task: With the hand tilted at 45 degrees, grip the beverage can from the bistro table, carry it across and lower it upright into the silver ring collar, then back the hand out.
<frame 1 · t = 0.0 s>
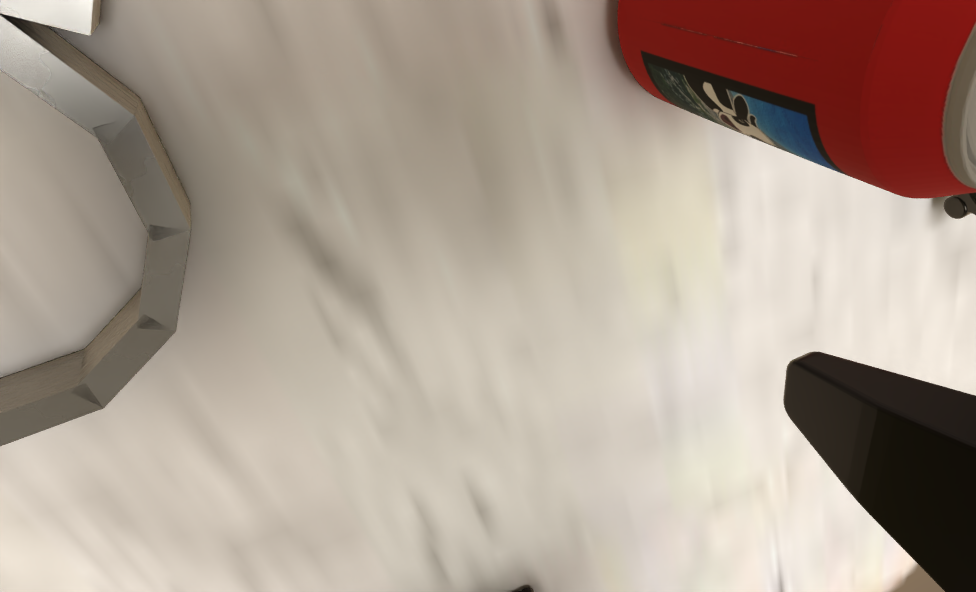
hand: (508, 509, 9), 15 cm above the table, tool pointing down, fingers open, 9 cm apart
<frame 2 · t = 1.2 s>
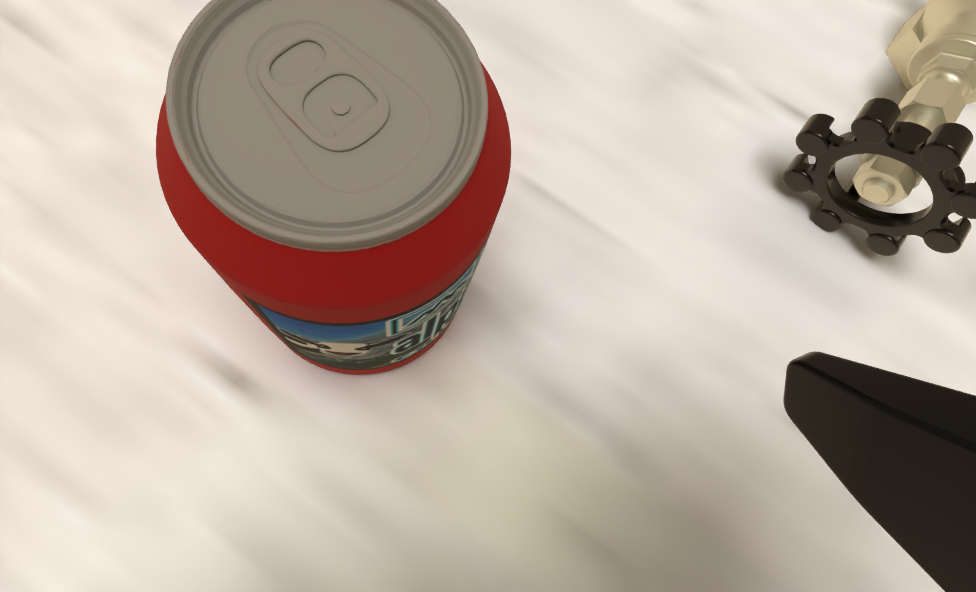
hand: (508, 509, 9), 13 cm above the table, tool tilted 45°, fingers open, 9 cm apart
beverage can: (364, 282, 23), on the table
valve: (880, 125, 28), on the table
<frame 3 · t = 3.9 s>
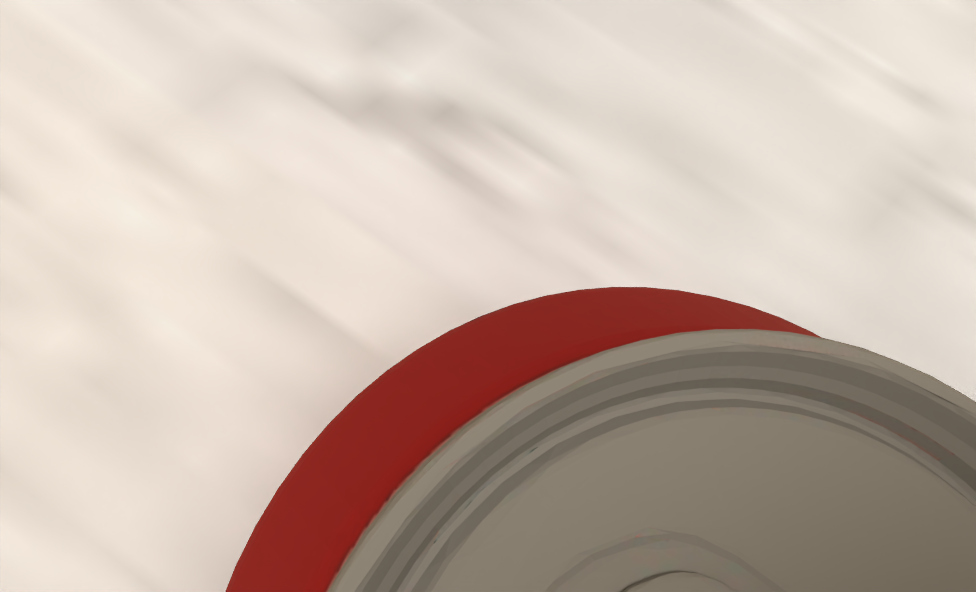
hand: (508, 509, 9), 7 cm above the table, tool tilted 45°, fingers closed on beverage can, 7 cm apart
beverage can: (482, 547, 15), on the table, touching gripper
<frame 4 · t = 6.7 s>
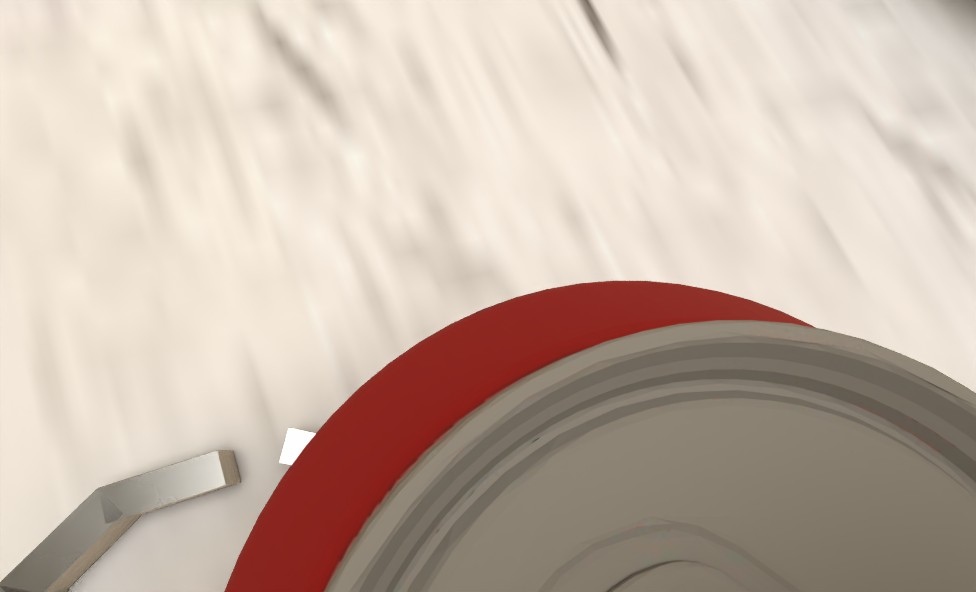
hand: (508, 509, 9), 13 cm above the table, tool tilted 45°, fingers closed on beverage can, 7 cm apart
beverage can: (482, 544, 15), point 6 cm above the table, touching gripper
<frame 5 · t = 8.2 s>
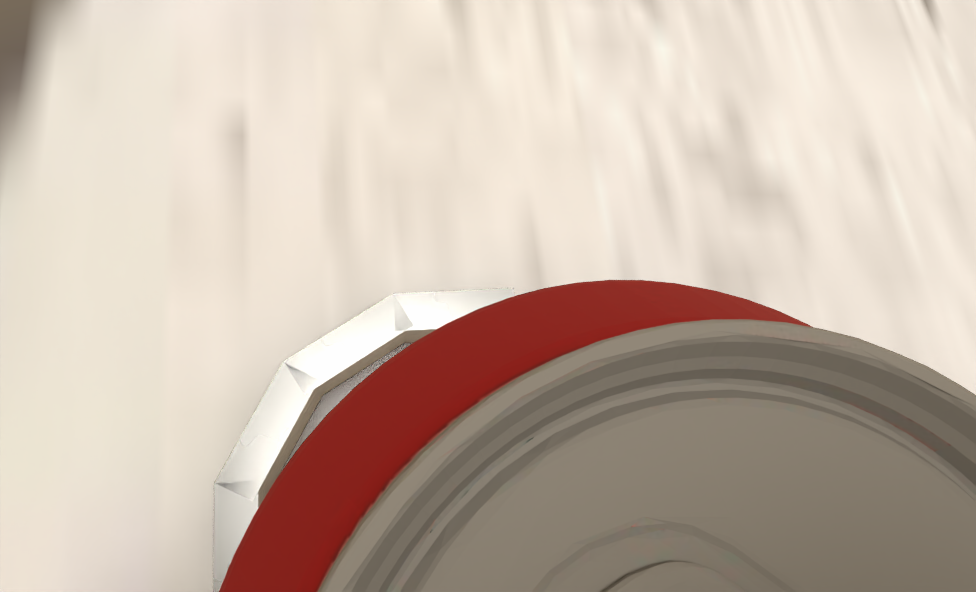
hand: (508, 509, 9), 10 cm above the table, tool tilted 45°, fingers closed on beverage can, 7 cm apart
beverage can: (481, 544, 15), point 3 cm above the table, touching gripper
ring collar: (462, 520, 18), on the table
when the fingers open (8 cm above the table, at t = 9.6 s): beverage can drops 1 cm, resting in ring collar.
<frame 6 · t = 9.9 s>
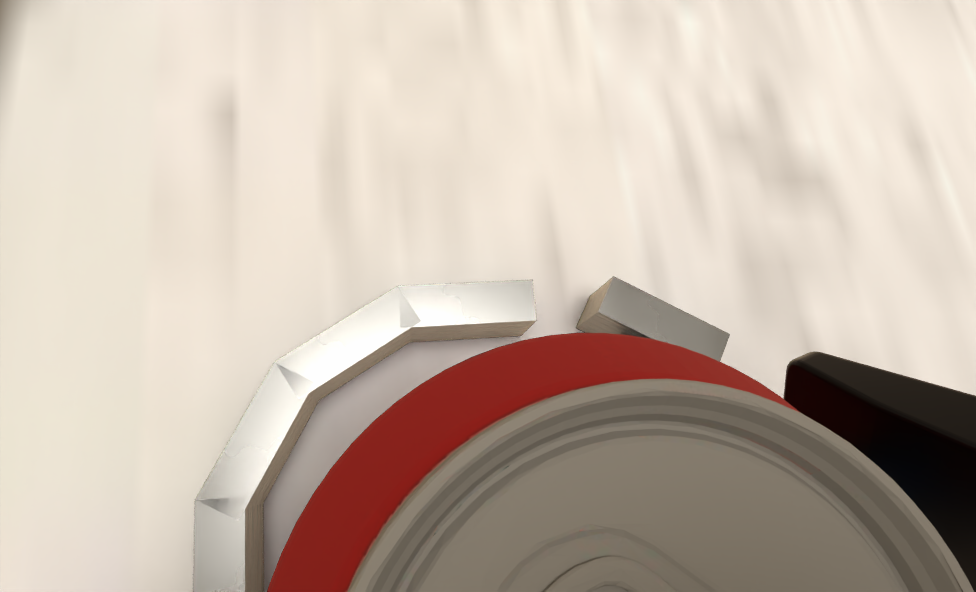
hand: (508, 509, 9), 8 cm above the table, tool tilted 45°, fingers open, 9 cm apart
beverage can: (477, 544, 16), resting in ring collar
ring collar: (476, 540, 16), on the table
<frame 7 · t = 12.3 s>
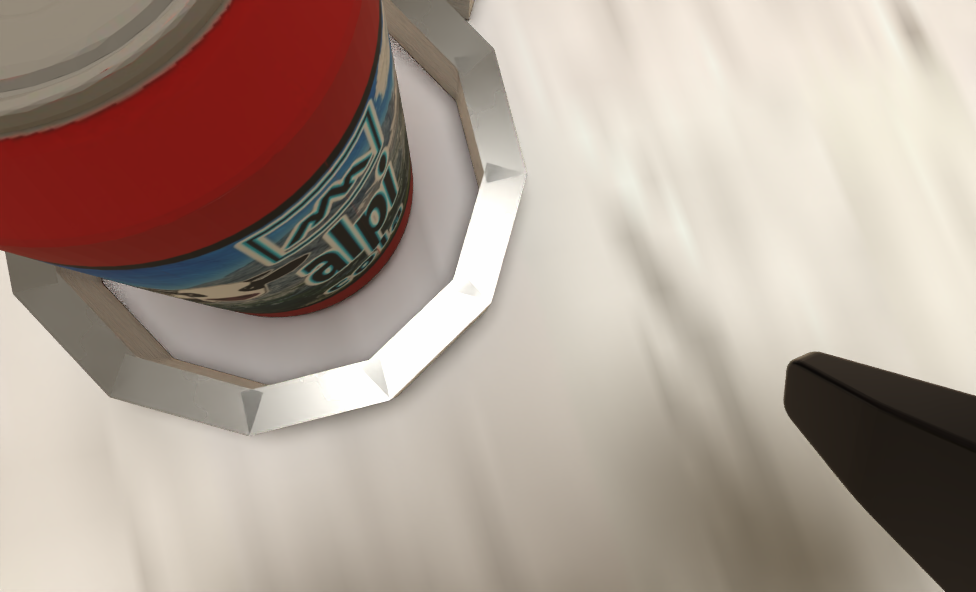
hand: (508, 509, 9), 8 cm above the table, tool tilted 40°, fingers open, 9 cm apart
beverage can: (290, 195, 18), resting in ring collar
ring collar: (284, 189, 17), on the table
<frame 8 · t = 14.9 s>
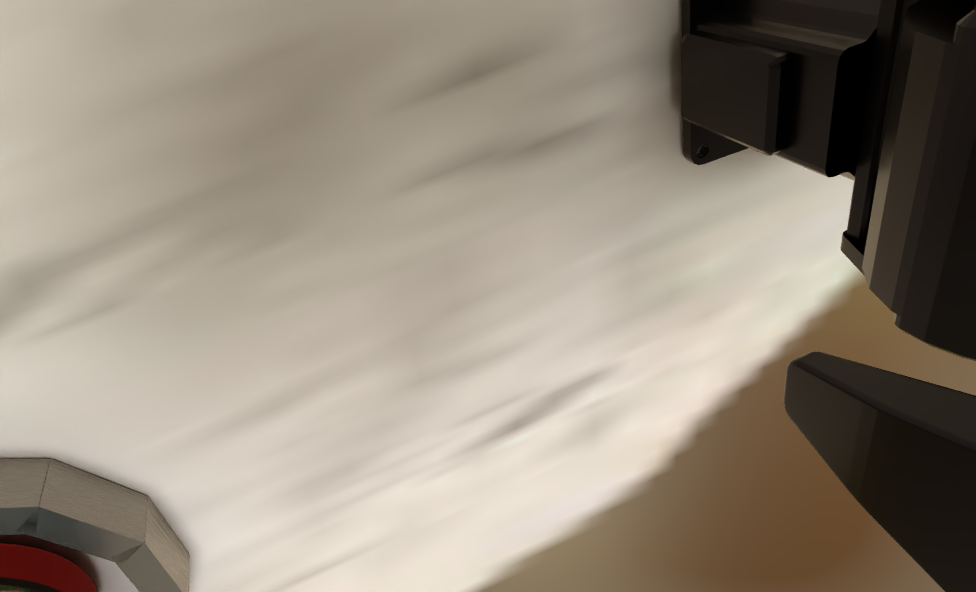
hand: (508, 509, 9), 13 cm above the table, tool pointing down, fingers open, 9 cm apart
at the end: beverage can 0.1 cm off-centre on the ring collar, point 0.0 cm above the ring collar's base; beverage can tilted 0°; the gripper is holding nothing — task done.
